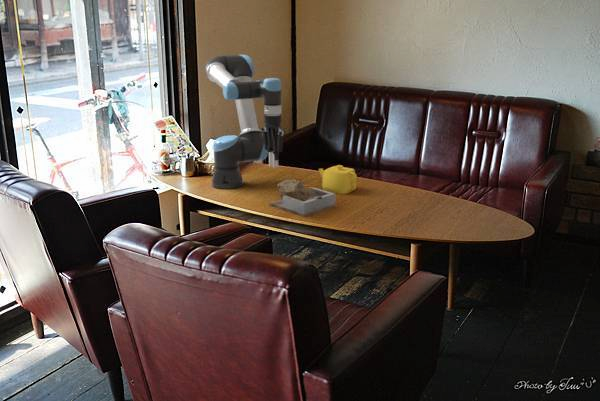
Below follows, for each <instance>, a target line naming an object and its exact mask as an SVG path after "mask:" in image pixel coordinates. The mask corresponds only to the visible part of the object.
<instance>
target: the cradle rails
mask: <svg viewBox="0 0 600 401" xmlns="http://www.w3.org/2000/svg"><path fill="white" fill-rule="evenodd" d="M310 194H311V200H307V201H301V200H298V199H295V198H291V197H288V196H283V208H286V209H289V210H292V211H295V212H298V213H301V214H307V213H310V212H313V211H316V210H319V209H322V208H325V207H328V206H331V205H334V204H335V205H336V193H332V192H328V191H324V190H323V189H320V188H317V187H312V188H310Z"/></svg>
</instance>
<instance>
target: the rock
mask: <svg viewBox="0 0 600 401" xmlns="http://www.w3.org/2000/svg"><path fill="white" fill-rule="evenodd" d="M277 188H278V192H279V196H280V197H281V199H282V200H283V196H288V197H291V198H295V199H298V200H301V201H305V200H306V199H308V198H309V197H311V189H309V188H306V187H305V186H304V182H303V181H302V180H297V178H293V179H285V180H283V181H281V182H279V183H277Z"/></svg>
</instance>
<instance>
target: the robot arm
mask: <svg viewBox="0 0 600 401" xmlns="http://www.w3.org/2000/svg"><path fill="white" fill-rule="evenodd" d="M204 73H205V76H206V78H207V79H209V81H211V82H213V83H216V84H217V85H218V87H220V88H221V89H222V94H223V97H224V99H225V100H226V101H234V102H235V107H236V112H237V118H238V122H239V127H240V133H239V134H238V135H235V134H234V135H233V134H232V135H223V136H219V137H217V138H216V139H215V140H214V141H213V160H214V161H213V162H214V170H213V171H214V172H213V175H212V179H211V186H212V187H213V188H216V189H222V190H223V189H225V190H226V189H227V190H229V189H230V190H231V189H235V188H240V187H242V186H244V179H243V176H242V174H241V170H240V163H247V162H258V161H263V160H266V158H267V157H268V166H269V167H272V168H274V169H275V168H278V167H279V160H280V153H282V152H283V147H284V138H285V134H286V131H285V130H282V128H281V124H282V83H281V79H280V78H276V77H270V78H269V77H268V78H265V79H258V80H256V81H255V80H254V81H253V79H252V78H254V75H255V67H254V63H253V60H252V58H251V57H250V56H248V55H247V54H234V55H233V54H231V55H229V54H228V55H216V56H214V57H212V58H210V59H209V60H208V61H207V63H206V64H205V67H204ZM253 99H263V113H264V115H263V118H264V120H263V122H264V124H265V126H264V127H261V129H259V126H258V120H257V114H256V110H255V105H254V100H253Z"/></svg>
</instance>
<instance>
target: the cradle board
mask: <svg viewBox="0 0 600 401" xmlns="http://www.w3.org/2000/svg"><path fill="white" fill-rule="evenodd" d="M307 200H311V197H309V198H308V199H306V200H305V201H307ZM268 206H270V207H273V208H276V209H278V210H282V211H285V212H288V213H291V214H294V215H296V216H300V217H302V218H306V217H308V216H312V215H315V214H318V213H320V212H324V211H326V210H330V209H333V208H335V207H336V203H335V204H334V205H331V206H328V207H325V208H322V209H319V210H316V211H313V212H310V213H307V214H301V213H298V212H295V211H292V210H289V209H286V208H283V200H282V198H281V199H277V200H274V201H270V202H268Z"/></svg>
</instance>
